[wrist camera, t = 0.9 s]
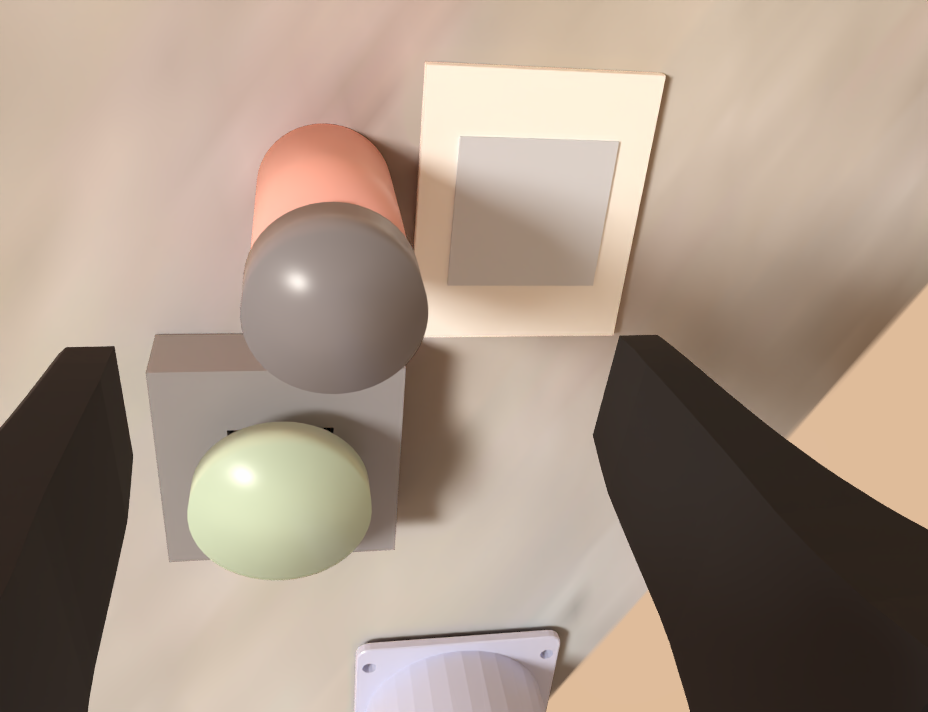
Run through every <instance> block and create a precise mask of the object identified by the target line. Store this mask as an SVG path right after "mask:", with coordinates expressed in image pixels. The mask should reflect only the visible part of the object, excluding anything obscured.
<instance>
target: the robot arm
mask: <svg viewBox="0 0 928 712" xmlns="http://www.w3.org/2000/svg"><path fill="white" fill-rule="evenodd" d="M593 438H594V442H595V446H596V450H597V454H598V458H599V462H600V466H601V470H602V473H603V477H604V480H605V484H606V487H607V491H608V494H609V497H610V499H611V502H612V504H613V507H614V509H615V511H616V514H617V516H618V519H619V521H620V523H621V526H622V528H623V531H624V533H625V536H626V538H627V540H628V543H629V545H630V547H631V550H632V552H633V554H634V557H635V559H636V561H637V564H638V566H639V569H640V571H641V573H642V576H643V578H644V580H645V583H646V585H647V587H648V590H649V592H650V594H651V597H652V599H653V601H654V604H655V606H656V609H657V611H658V613H659V615H660V618H661V621H662V623H663V626H664V629H665V632H666V634H667V637H668V640H669V642H670V645H671V649H672V652H673V655H674V659H675V662H676V665H677V669H678V672H679V675H680V678H681V681H682V685H683V688H684V691H685V695H686V698H687V702H688V705H689V709H690V712H928V529H926V528H924V527H922V526H920V525H919V524H917V523H915V522H913V521H911V520H909V519H907V518H906V517H904V516H902V515H900V514H899V513H897V512H895V511H893V510H892V509H890V508H888V507H886V506H885V505H883V504H881V503H880V502H878V501H876V500H875V499H873V498H872V497H870V496H869V495H867V494H865V493H864V492H862V491H861V490H859V489H857V488H856V487H854V486H853V485H851V484H849V483H848V482H846V481H845V480H843V479H842V478H840V477H838V476H837V475H835V474H834V473H833V472H831V471H829V470H828V469H827V468H825V467H824V466H822V465H821V464H819V463H818V462H816V461H815V460H814V459H812V458H811V457H810V456H808V455H807V454H805V453H804V452H803V451H801V450H800V449H799V448H797V447H796V446H795V445H793V444H792V443H790V442H789V441H788V440H786V439H785V438H784V437H782V436H781V435H780V434H778V433H777V432H776V431H775V430H773V429H772V428H771V427H769V426H768V425H767V424H766V423H764V422H763V421H762V420H761V419H759V418H758V417H757V416H756V415H754V414H753V413H752V412H751V411H749V410H748V409H747V408H746V407H744V406H743V405H742V404H741V403H740V402H738V401H737V400H736V399H735V398H733V397H732V396H731V395H730V394H729V393H727V392H726V391H725V390H724V389H723V388H721V387H720V386H719V385H718V384H717V383H716V382H714V381H713V380H712V379H711V378H710V377H708V376H707V375H706V374H705V373H704V372H703V371H701V370H700V369H699V368H698V367H697V366H695V365H694V364H693V363H692V362H691V361H689V360H688V359H687V358H686V357H685V356H684V355H682V354H681V353H680V352H679V351H677V350H676V349H675V348H674V347H673V346H671V345H670V344H669V343H667V342H666V341H665V340H664V339H662V338H661V337H660V336H658V335H633V336H619V340H618V344H617V347H616V351H615V355H614V359H613V362H612V366H611V370H610V374H609V377H608V381H607V385H606V388H605V392H604V396H603V400H602V403H601V407H600V411H599V414H598V418H597V422H596V426H595V429H594V433H593ZM132 464H133V452H132V446H131V441H130V435H129V429H128V423H127V417H126V411H125V406H124V400H123V394H122V388H121V382H120V376H119V371H118V365H117V359H116V353H115V347H114V346H107V347H66V348H65V349H64V350H63V351H62V352H60V353H59V354H58V356H57V357H56V358H55V360H54V361H53V362H52V363H51V365H50V366H49V367H48V369H47V370H46V371H45V373H44V374H43V375H42V377H41V378H40V379H39V380H38V382H37V383H36V384H35V386H34V387H33V388H32V389H31V391H30V392H29V393H28V395H27V396H26V397H25V398H24V400H23V401H22V402H21V403H20V404H19V406H18V407H17V408H16V409H15V411H14V412H13V413H12V414H11V416H10V417H9V418H8V419H7V420H6V422H5V423H4V424H3V425H2V426H1V427H0V712H88V705H89V697H90V692H91V686H92V680H93V675H94V669H95V664H96V660H97V655H98V651H99V646H100V642H101V638H102V633H103V629H104V624H105V620H106V615H107V611H108V607H109V602H110V598H111V593H112V589H113V584H114V580H115V575H116V571H117V566H118V562H119V557H120V553H121V548H122V544H123V539H124V534H125V530H126V525H127V519H128V509H129V499H130V488H131V476H132ZM559 648H560V639H559V636H558V634H557V632H555V631H553V630H539V631H525V632H511V633H498V634H484V635H471V636H457V637H443V638H430V639H416V640H403V641H389V642H375V643H367V644H364V645H362V646H360V647H359V648H358V649H357V651H356V664H355V696H354V712H546V709H547V704H548V700H549V695H550V690H551V685H552V681H553V676H554V671H555V667H556V662H557V657H558V652H559Z"/></svg>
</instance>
